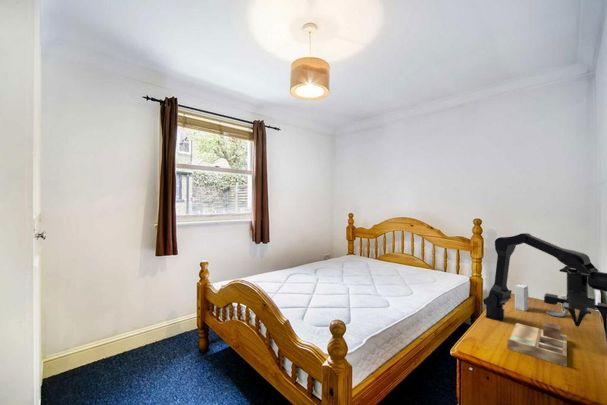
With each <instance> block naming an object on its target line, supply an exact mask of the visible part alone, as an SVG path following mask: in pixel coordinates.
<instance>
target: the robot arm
mask: <svg viewBox="0 0 607 405" xmlns="http://www.w3.org/2000/svg"><path fill="white" fill-rule="evenodd" d="M522 244H525V245H528V246H529V247H532V248H535V249H537V250H538V251H541V252H543V253H545V254H548V255H550V256H552V257H554V258H556V259H557V261H559V262H560V263H561V264H562V265H565V266H563V268H561V269H559V272H561V273H566V299H563V297H562V298H561V297H559V296H558V295H557V294H552V293H544V296H543V303H545V304H548V305H553V306H555V305H557V304H558V303H559V304H561V303H562V304H564V309H567V310H568V313H569V314H570V316H571V318H572V321H573V322H574V326H575V327H577V328H579V327H580V325H581V323H582V321H583V319H584V318H585V317H586V315H588V314H589V315H591V314H592V310H596V311H598V312H599V313H600V314H601V315H604V316H607V303H604V302H597V304H596V300H595V298H593V297H592V298H591V297H589V287H590V288H591V289H592V290H596V291H601V292H606V293H607V272H603V271H602V272H601V271H599V270H598V268H596V266H595V265H594V264H593V263H592V262H591V259H590V256H588V254H587V253H584V252H580V251H576V250H571V249H567V248H563V247H560V246H558V245H555V244H553V243H550V242H549V241H546V240H543V239H541V238H538V237H537V236H534V235H531V234H530V233H528V232H526V233H519V234H517V235H516V234H515V235H513V236H501V237H497V238H496V239H495V240H494V249H495V252H496V254H497V258H496V267H495V273H494V274H495V275H494V283H493V284H492V287H491V288H490V290H489V293H488V296H487V297H485V298H484V299H483V300H482V301H483V304H484V306H485V311H486V312H485V313H486V314H485V316H484V317H485V318H487V319H491V320H495V321H499V322H502V321H503V320H504V319H505V308H504V305H506V304H507V303H508V302H509V301H510V300H511V299H512V297H511V296H512V289H511V290H510V289H509V288H508V285H507V284H508V278H509V268H510V262H511V261H510V260H511V256H512V255H513V253H514V251H515V249H516V246H519V245H522ZM576 310H578V315H577V314H576Z"/></svg>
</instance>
